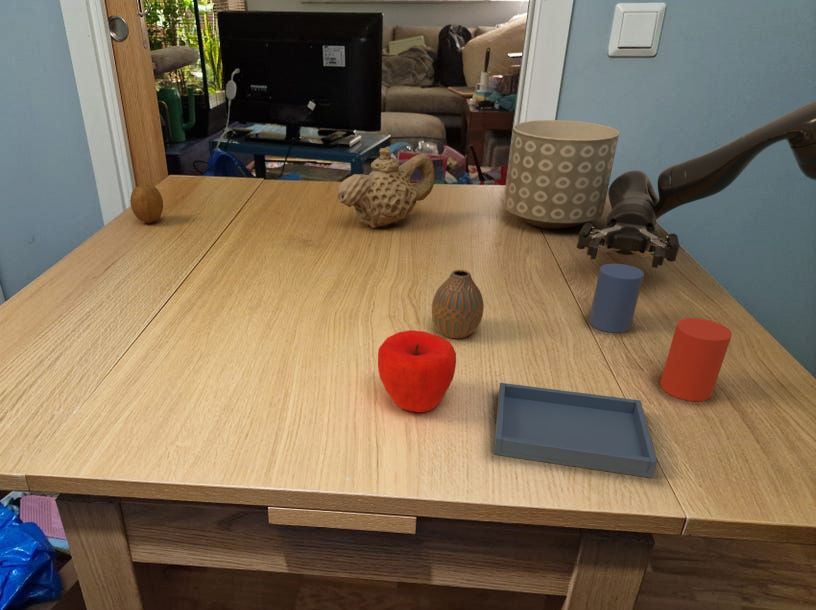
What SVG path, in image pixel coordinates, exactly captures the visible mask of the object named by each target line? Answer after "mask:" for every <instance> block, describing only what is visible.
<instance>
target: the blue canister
mask: <svg viewBox="0 0 816 610" xmlns="http://www.w3.org/2000/svg"><path fill="white" fill-rule="evenodd" d="M644 276H645V273H644V271H643V270H642V269H640V268H638V267H635V266H633V265H628V264H623V263H607V264H602V265H601V266H600V267H599V271H598V275H597V281H596V284H595V290H594V294H593V299H592V304H591V308H590V313H589V317H588V323H589V324H590V326H592V327H593V328H595V329H597V330H598V331H603V332H607V333H611V334H613V333H614V334H622V333H625V332H628V331H630V330H631V328H632V324H633V320H634V317H635V312H636V308H637V304H638V299H639V296H640V291H641V288H642V285H643V280H644Z"/></svg>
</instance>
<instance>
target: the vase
mask: <svg viewBox="0 0 816 610" xmlns="http://www.w3.org/2000/svg"><path fill="white" fill-rule="evenodd" d="M484 306H485V305H484V298H483V294H482V292H481V290H480V288H479V287H478V286H477V284H476V283H475V281H474V279H473V277H472V275H471V272H470V271H468V270H465V269H454V270H452V271H451V273H450V275H449V277H448V278H447V279H446V280H444V282H443V283H442V284H441V285H440V286H439V287H438V288H437V290H436V292H435V294H434V296H433V299H432V302H431V318H432V322H433V324H434V327H435V328H436V329H437V331H438V332H439V333H441V334H442V335H443V336H445V337H446V338H450V339H465V338H467V337H468V336H470V335H472V334H473V333H475V331H477V329H478V327H479V326H480V324H481V322H482V318H483V315H484V308H485V307H484Z"/></svg>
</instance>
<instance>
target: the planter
mask: <svg viewBox="0 0 816 610" xmlns="http://www.w3.org/2000/svg"><path fill="white" fill-rule="evenodd" d="M619 137H620V131H619V130H618V129H616V128H614V127H611V126H608V125H604V124H599V123H594V122H588V121H577V120H562V119H541V120H529V121H523V122H519V123H516V124H515V125H514V126H513V128H512V136H511V144H510V151H509V158H508V159H509V160H508V168H507V174H506V182H505V191H504V196H503V197H504V199H503V208H504V209H505V210H506V211H507V212H509V213H510V214H512V215H515V216H517V217H518V218H520V219H521V220H522V221H524V222H526V223H528V224H529V225H531V226H534V227H537V228H541V229H546V230H563V229H569V228H573V227H577V226H579V225H582V224H585V223H589V222H593V221H595V220H598V219H600V218H601V217H602V216H603V214H604V211H605V206H606V205H605V204H606V201H607V195H608V192H609V187H610V181H611V176H612V172H613V166H614V161H615V157H616V156H615V155H616V152H617V148H618V147H617V146H618V141H619Z"/></svg>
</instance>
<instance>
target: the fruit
mask: <svg viewBox="0 0 816 610" xmlns="http://www.w3.org/2000/svg"><path fill="white" fill-rule="evenodd" d="M129 199H130V200H129V201H130V208H131V211H132V213H133V214H134V216H135V217H136V218H137V220H139V221H140V222H143V223H145V224H148V225H150V224H153V223H154V222H156V221H158V220H159V219H160V218H161V216H162V213H163V210H164V199H163V196H162V194H161V192H160V191H159V189H158V188H156V186H155V185H152V184H148V183H146V182H142V183H141V184H140V185H137V186H135V187H134V188H133V190H132V191H131V194H130V198H129Z"/></svg>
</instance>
